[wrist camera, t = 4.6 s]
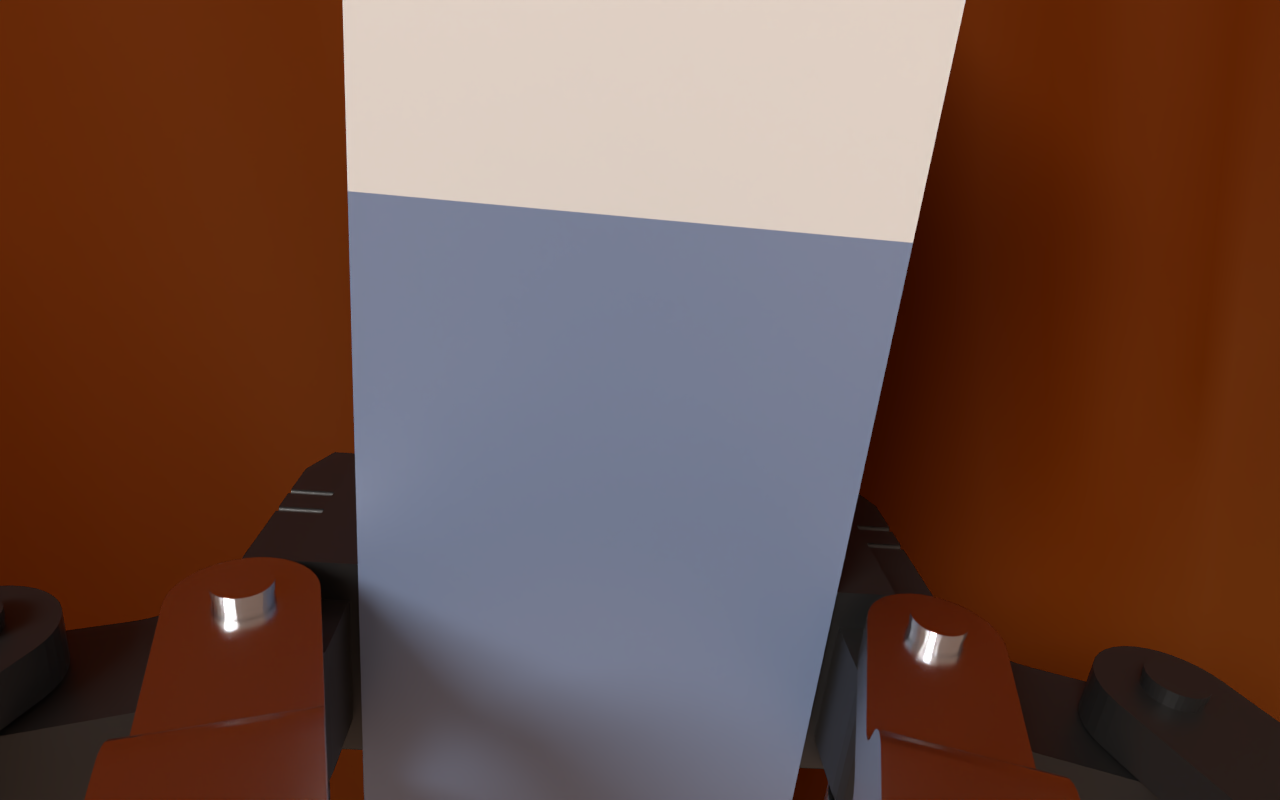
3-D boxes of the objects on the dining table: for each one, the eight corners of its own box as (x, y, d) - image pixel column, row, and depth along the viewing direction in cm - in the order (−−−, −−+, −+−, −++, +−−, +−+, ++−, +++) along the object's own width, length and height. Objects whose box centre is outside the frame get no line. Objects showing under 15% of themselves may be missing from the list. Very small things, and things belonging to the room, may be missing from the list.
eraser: (435, 840, 15) (373, 1139, 11) (448, -133, 10) (334, -285, 5) (684, 848, 15) (718, 1140, 11) (834, -85, 10) (1008, -194, 6)
